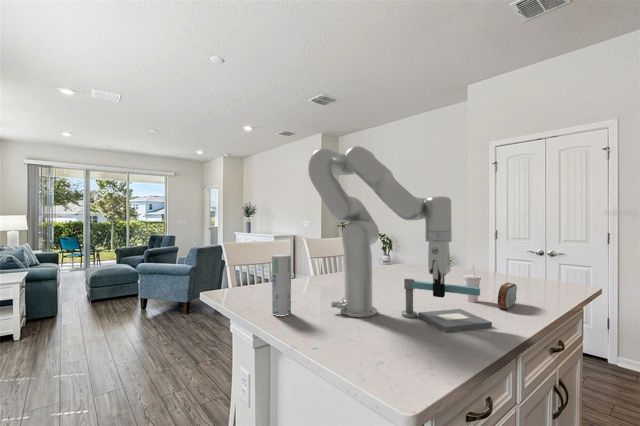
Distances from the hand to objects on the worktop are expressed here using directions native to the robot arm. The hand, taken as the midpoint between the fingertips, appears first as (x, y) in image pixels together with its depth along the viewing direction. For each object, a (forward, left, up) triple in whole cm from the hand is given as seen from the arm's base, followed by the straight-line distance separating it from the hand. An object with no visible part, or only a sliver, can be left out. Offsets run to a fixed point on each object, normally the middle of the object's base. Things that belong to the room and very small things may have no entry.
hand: (438, 296), depth 96 cm
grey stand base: (+3, +3, -8) cm, 10 cm away
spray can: (-46, +23, -9) cm, 52 cm away
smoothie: (+28, +20, -9) cm, 36 cm away
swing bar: (+2, +3, +1) cm, 4 cm away
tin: (+35, +10, -9) cm, 38 cm away
